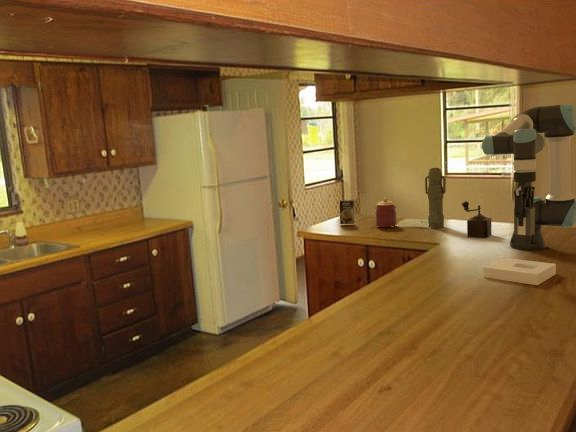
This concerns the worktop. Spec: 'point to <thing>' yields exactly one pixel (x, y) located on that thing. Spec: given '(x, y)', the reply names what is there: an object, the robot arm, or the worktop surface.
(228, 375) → the worktop surface
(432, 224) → the thermos
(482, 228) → the manual coffee grinder
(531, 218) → the plug
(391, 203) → the canister
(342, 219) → the coffee box
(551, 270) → the socket plate
